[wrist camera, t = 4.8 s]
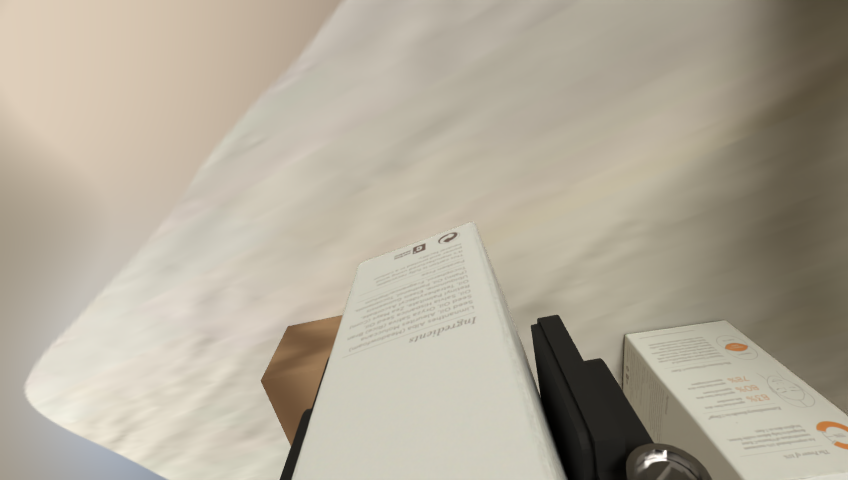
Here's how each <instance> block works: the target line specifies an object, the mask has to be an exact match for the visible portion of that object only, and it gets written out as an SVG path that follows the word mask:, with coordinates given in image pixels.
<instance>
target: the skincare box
mask: <svg viewBox="0 0 848 480" xmlns="http://www.w3.org/2000/svg"><path fill="white" fill-rule="evenodd" d="M292 480H568V477H567V474H566V472H565V469H564V466H563V463H562V460H561V457H560V454H559V451H558V448H557V445H556V442H555V439H554V436H553V433H552V430H551V427H550V424H549V422H548V419H547V416H546V413H545V410H544V407H543V404H542V401H541V398H540V395H539V392H538V389H537V386H536V383H535V380H534V377H533V374H532V371H531V368H530V365H529V362H528V359H527V356H526V353H525V350H524V348H523V345H522V342H521V339H520V337H519V334H518V331H517V329H516V326H515V324H514V321H513V318H512V316H511V313H510V310H509V308H508V305H507V303H506V300H505V297H504V295H503V292H502V290H501V287H500V285H499V282H498V280H497V277H496V275H495V272H494V270H493V267H492V265H491V262H490V259H489V257H488V254H487V252H486V249H485V247H484V244H483V242H482V239H481V237H480V234H479V232H478V229H477V226H476V224H475V223H474V222H469V223H466V224H464V225H461V226H458V227H456V228H453V229H450V230H448V231H445V232H442V233H439V234H437V235H434V236H432V237H429V238H427V239H424V240H421V241H418V242H416V243H413V244H410V245H407V246H405V247H402V248H399V249H397V250H394V251H391V252H388V253H386V254H383V255H380V256H378V257H375V258H372V259H369V260H367V261H364V262H362V263H360V264H359V266H358V268H357V271H356V275H355V278H354V281H353V284H352V288H351V291H350V294H349V297H348V300H347V304H346V307H345V310H344V313H343V316H342V319H341V323H340V326H339V329H338V332H337V336H336V339H335V342H334V345H333V348H332V351H331V355H330V358H329V361H328V364H327V368H326V371H325V374H324V377H323V380H322V383H321V386H320V389H319V392H318V396H317V399H316V402H315V405H314V408H313V412H312V415H311V418H310V421H309V425H308V429H307V432H306V435H305V438H304V441H303V444H302V447H301V451H300V454H299V457H298V460H297V464H296V467H295V470H294V473H293V476H292Z"/></svg>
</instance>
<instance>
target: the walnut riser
mask: <svg viewBox="0 0 848 480" xmlns="http://www.w3.org/2000/svg"><path fill="white" fill-rule="evenodd" d="M342 316H343V315H342ZM342 316H337V317H332V318H327V319H322V320H317V321H312V322H308V323H303V324H298V325H293V326H288V327H287V329H286V331H285V333H284V335H283V337H282V339H281V341H280V343H279V345H278V347H277V349H276V351H275V353H274V355H273V357H272V359H271V361H270V363H269V365H268V367H267V369H266V371H265V373H264V375H263V377H262V379H261V382H262V384H263V387H264V389H265V391H266V393H267V395H268V397H269V400H270V402H271V404H272V406H273V408H274V410H275V413H276V415H277V417H278V419H279V421H280V423H281V426H282V428H283V430H284V432H285V434H286V436H287V439H288V441H289V443H290V445H291V446H292V443H293V440H294V437H295V434H296V431H297V428H298V425H299V422H300V420H301V417H302V415H303V413H304V411H305V410H306V409H311V408H312V405H313V402H314V399H315V396H316V393H317V390H318V387H319V384H320V381H321V378H322V375H323V372H324V368H325V365H326V362H327V359H328V358H329V357H330V355H331V351H332V348H333V345H334V342H335V339H336V336H337V332H338V329H339V326H340V323H341V319H342Z"/></svg>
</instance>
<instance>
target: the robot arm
mask: <svg viewBox="0 0 848 480" xmlns="http://www.w3.org/2000/svg"><path fill="white" fill-rule="evenodd" d="M531 331H532V338H533V345H534V353H535V360H536V367H537V374H538V381H539V388H540V395H541V401H542V404H543V407H544V410H545V413H546V416H547V419H548V422H549V424H550V427H551V430H552V433H553V436H554V439H555V442H556V445H557V448H558V451H559V454H560V457H561V460H562V463H563V466H564V469H565V472H566V474H567V477H568V480H712V478H711V476H710V474H709V473H708V471H707V469H706V468H705V467H704V466H703V465H702V464H701V463H700V462H699V461H698V460H697V458H695V457H694V456H692V455H691V454H689V453H688V452H686V451H684V450H682V449H680V448H677V447H675V446H672V445H667V444H661V443H654V442H653V440H652V438H651V437H650V435H649V433H648V432H647V430H646V429H645V427H644V425H643V424H642V422H641V420H640V419H639V417H638V416H637V414H636V412H635V411H634V409H633V407H632V406H631V404H630V403H629V401H628V399H627V398H626V396H625V394H624V393H623V391H622V390H621V388H620V386H619V385H618V383H617V381H616V380H615V378H614V377H613V375H612V373H611V372H610V370H609V368H608V367H607V365H606V364H605V362H604V361H603V360H602V359H601V358H599V359H593V360H587V361H583V359H582V357H581V355H580V353H579V352H578V350H577V348H576V346H575V344H574V342H573V341H572V339H571V337H570V335H569V333H568V331H567V330H566V328H565V326H564V324H563V322H562V320H561V319H560V317H559V315H553V316H548V317H542V318H538V319H537V324H534V325H531ZM329 358H330V357H329ZM329 358H328V359H327V362H326V365H325V368H324V372H323V375H322V378H321V381H320V384H319V387H318V390H317V393H316V396H315V399H314V402H313V405H312V408H311V409H306V410H305V411H304V413H303V415H302V417H301V420H300V422H299V425H298V428H297V431H296V434H295V437H294V440H293V443H292V446H291V449H290V451H289V454H288V457H287V460H286V463H285V466H284V469H283V472H282V475H281V478H280V480H292V476H293V473H294V470H295V467H296V464H297V460H298V457H299V454H300V451H301V447H302V444H303V441H304V438H305V435H306V432H307V429H308V425H309V421H310V418H311V415H312V412H313V408H314V405H315V402H316V399H317V396H318V392H319V389H320V386H321V383H322V380H323V377H324V374H325V371H326V368H327V364H328V361H329Z"/></svg>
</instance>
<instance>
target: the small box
mask: <svg viewBox="0 0 848 480" xmlns="http://www.w3.org/2000/svg"><path fill="white" fill-rule="evenodd" d="M623 393H624V394H625V396H626V398H627V399H628V401H629V403H630V404H631V406H632V407H633V409H634V411H635V412H636V414H637V416H638V417H639V419H640V420H641V422H642V424H643V425H644V427H645V429H646V430H647V432H648V433H649V435H650V437H651V438H652V440H653V442H654V443H661V444H667V445H672V446H675V447H677V448H680V449H682V450H684V451H686V452H688V453H689V454H691V455H692V456H694V457H695V458H697V460H698V461H699V462H700V463H701V464H702V465H703V466H704V467H705V468H706V469H707V471H708V473H709V474H710V476H711V478H712V480H848V415H846V414H845V413H844V412H843V411H841V410H840V409H839V408H837V407H836V406H835V405H834V404H832V403H831V402H830V401H829V400H827V399H826V398H825V397H823V396H822V395H821V394H820V393H818V392H817V391H816V390H814V389H813V388H812V387H811V386H809V385H808V384H807V383H805V382H804V381H803V380H802V379H800V378H799V377H798V376H796V375H795V374H794V373H793V372H791V371H790V370H789V369H788V368H786V367H785V366H784V365H782V364H781V363H780V362H779V361H777V360H776V359H775V358H773V357H772V356H771V355H770V354H768V353H767V352H766V351H764V350H763V349H762V348H761V347H759V346H758V345H757V344H755V343H754V342H753V341H752V340H750V339H749V338H748V337H746V336H745V335H744V334H743V333H741V332H740V331H739V330H737V329H736V328H735V327H734V326H732V325H731V324H730V323H729V322H727V321H726V320H722V321H716V322H709V323H702V324H695V325H688V326H681V327H674V328H667V329H661V330H654V331H647V332H640V333H633V334H626V335H625V343H624V374H623Z"/></svg>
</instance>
